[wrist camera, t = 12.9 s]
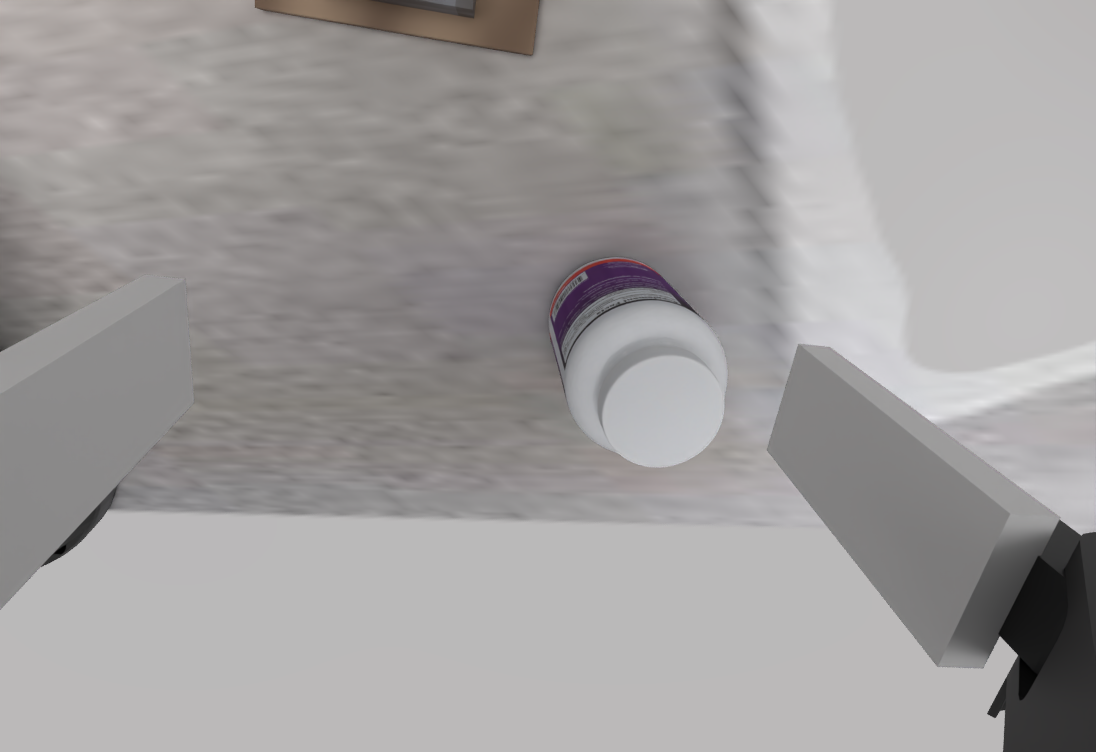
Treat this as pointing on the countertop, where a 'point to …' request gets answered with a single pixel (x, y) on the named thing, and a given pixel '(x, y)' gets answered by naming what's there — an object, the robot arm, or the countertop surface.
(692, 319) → the pill bottle
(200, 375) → the countertop surface
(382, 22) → the bracket board
